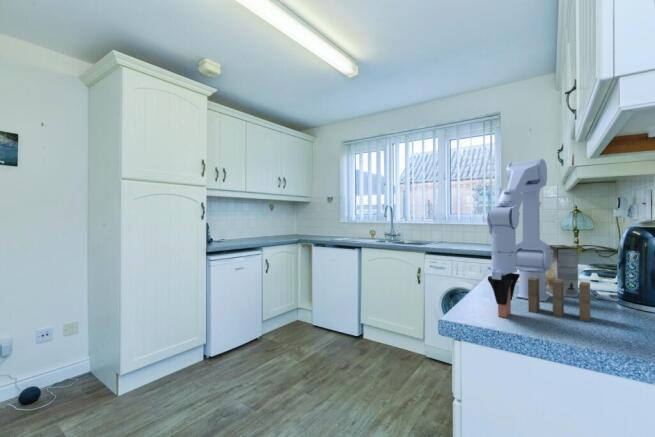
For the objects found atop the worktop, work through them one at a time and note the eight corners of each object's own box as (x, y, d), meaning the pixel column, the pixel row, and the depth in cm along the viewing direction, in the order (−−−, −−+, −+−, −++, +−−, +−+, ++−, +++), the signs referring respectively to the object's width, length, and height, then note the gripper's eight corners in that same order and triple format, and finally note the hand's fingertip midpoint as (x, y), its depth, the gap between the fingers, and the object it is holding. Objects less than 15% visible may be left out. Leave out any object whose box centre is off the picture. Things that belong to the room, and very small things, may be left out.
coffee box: (543, 289, 108) (542, 244, 108) (563, 290, 107) (563, 244, 107) (557, 296, 99) (556, 247, 99) (579, 297, 98) (579, 247, 98)
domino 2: (532, 307, 88) (531, 276, 88) (539, 308, 87) (539, 277, 87) (528, 311, 85) (528, 279, 84) (536, 312, 83) (535, 280, 83)
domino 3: (555, 311, 84) (555, 278, 84) (563, 312, 83) (563, 279, 83) (552, 315, 81) (552, 281, 81) (561, 317, 79) (560, 282, 79)
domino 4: (581, 315, 81) (580, 281, 80) (590, 316, 79) (589, 282, 79) (579, 320, 77) (579, 284, 77) (589, 321, 76) (588, 285, 76)
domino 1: (503, 311, 84) (502, 279, 84) (510, 313, 83) (510, 280, 83) (498, 316, 81) (497, 282, 81) (505, 317, 80) (505, 283, 80)
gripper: (495, 248, 90) (495, 294, 90) (478, 253, 79) (479, 305, 80) (522, 249, 85) (523, 298, 85) (509, 255, 75) (510, 310, 75)
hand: (504, 302), depth 82 cm, fingers closed on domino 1, 5 cm apart
